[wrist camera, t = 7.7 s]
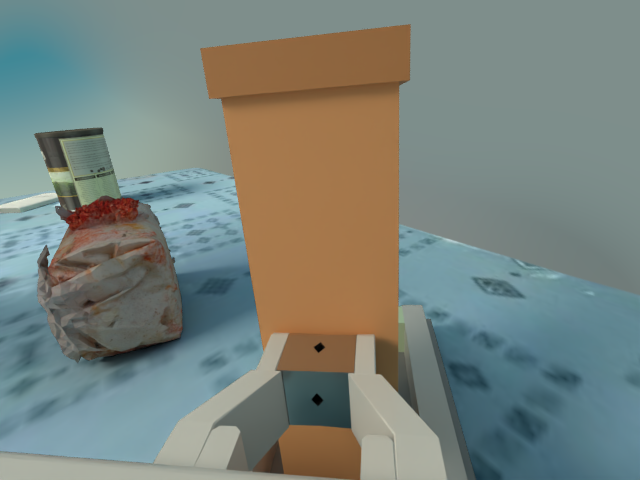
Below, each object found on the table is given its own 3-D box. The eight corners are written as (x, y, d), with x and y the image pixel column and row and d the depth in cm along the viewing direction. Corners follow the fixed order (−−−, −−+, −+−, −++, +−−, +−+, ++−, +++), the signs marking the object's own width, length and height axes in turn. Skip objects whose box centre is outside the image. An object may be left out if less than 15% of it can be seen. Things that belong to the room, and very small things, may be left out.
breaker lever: (403, 513, 12) (410, 24, 7) (281, 502, 13) (200, 48, 7) (395, 410, 16) (394, 53, 11) (302, 405, 17) (259, 67, 12)
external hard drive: (-12, 216, 69) (45, 199, 80) (22, 215, 67) (75, 198, 79) (-15, 208, 68) (42, 192, 80) (18, 207, 67) (72, 191, 78)
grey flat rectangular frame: (580, 900, 7) (615, 854, 6) (114, 790, 8) (71, 737, 7) (430, 331, 23) (431, 292, 22) (284, 329, 25) (279, 292, 24)
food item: (200, 342, 24) (167, 207, 21) (65, 392, 21) (-2, 238, 17) (173, 273, 36) (148, 177, 32) (82, 297, 32) (43, 193, 29)
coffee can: (51, 217, 62) (20, 134, 57) (76, 203, 71) (51, 131, 66) (114, 209, 64) (89, 128, 58) (130, 196, 73) (110, 126, 68)
